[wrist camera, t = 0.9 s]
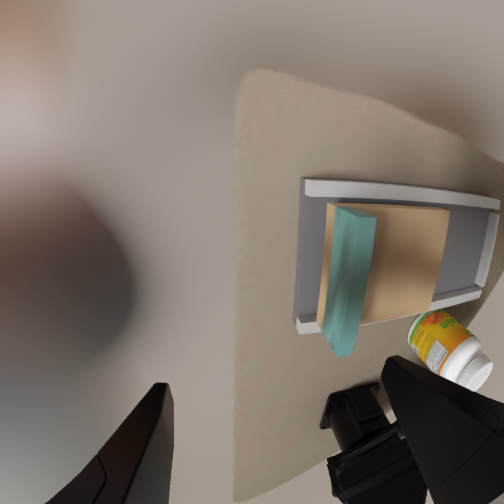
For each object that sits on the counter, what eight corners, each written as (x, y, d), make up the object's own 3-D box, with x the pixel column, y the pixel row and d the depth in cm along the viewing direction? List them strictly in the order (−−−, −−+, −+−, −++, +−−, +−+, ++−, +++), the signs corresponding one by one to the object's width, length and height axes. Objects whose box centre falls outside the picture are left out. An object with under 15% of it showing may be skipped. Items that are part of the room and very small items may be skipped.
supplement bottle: (448, 303, 24) (505, 350, 15) (431, 344, 26) (478, 394, 17) (417, 305, 23) (479, 361, 14) (399, 349, 25) (448, 409, 16)
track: (468, 290, 24) (480, 298, 22) (292, 320, 22) (300, 336, 20) (487, 196, 21) (502, 200, 19) (300, 177, 18) (311, 180, 16)
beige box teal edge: (412, 298, 21) (448, 328, 16) (310, 312, 20) (337, 357, 15) (430, 204, 19) (477, 220, 14) (320, 199, 17) (359, 217, 12)
